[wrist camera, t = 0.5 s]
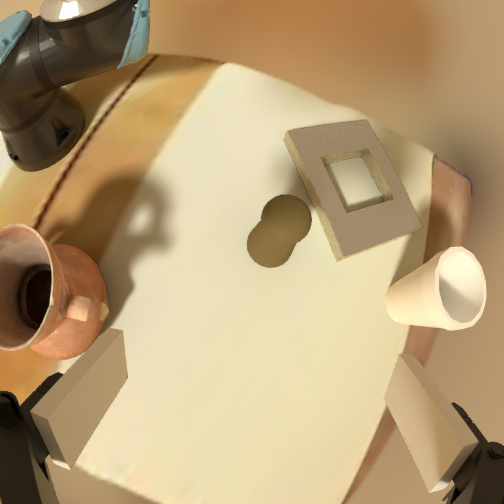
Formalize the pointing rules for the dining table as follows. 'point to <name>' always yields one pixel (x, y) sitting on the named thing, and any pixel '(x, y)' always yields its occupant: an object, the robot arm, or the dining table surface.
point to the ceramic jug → (48, 295)
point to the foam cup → (440, 292)
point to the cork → (279, 230)
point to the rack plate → (327, 199)
